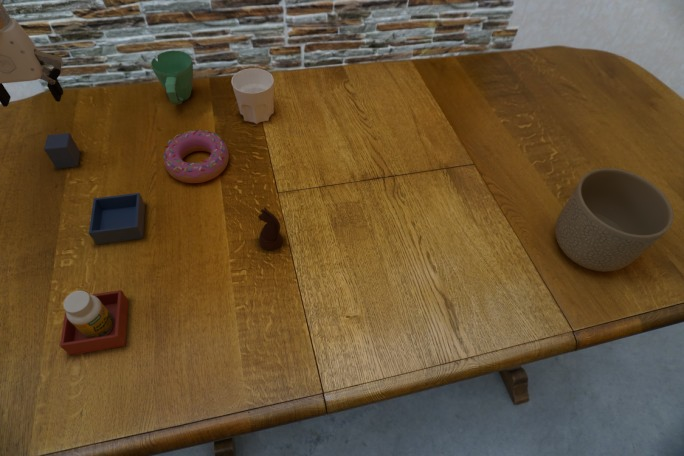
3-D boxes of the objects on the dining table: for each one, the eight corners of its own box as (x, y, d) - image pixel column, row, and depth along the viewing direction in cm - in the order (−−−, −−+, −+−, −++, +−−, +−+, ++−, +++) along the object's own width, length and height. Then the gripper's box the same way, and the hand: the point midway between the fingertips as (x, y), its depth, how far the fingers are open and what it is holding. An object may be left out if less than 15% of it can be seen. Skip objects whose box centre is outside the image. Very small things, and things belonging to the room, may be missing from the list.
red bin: (70, 355, 79) (59, 346, 75) (76, 308, 84) (67, 298, 81) (125, 345, 80) (117, 336, 77) (128, 300, 85) (121, 289, 82)
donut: (238, 175, 105) (235, 159, 101) (176, 195, 101) (170, 179, 97) (218, 136, 113) (215, 120, 109) (160, 153, 108) (154, 137, 104)
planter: (551, 275, 93) (587, 230, 80) (541, 211, 103) (571, 162, 90) (637, 287, 92) (686, 243, 80) (618, 221, 102) (659, 173, 90)
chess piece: (268, 229, 96) (264, 198, 88) (288, 240, 95) (285, 209, 87) (254, 244, 94) (249, 213, 86) (274, 255, 93) (271, 225, 85)
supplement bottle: (94, 309, 83) (72, 282, 76) (121, 317, 83) (101, 290, 75) (76, 336, 80) (51, 310, 73) (103, 344, 80) (81, 319, 72)
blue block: (56, 168, 104) (43, 149, 99) (59, 154, 107) (47, 135, 102) (78, 166, 105) (66, 146, 100) (80, 152, 107) (69, 132, 103)
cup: (247, 97, 122) (242, 64, 114) (282, 106, 121) (280, 73, 113) (230, 120, 116) (224, 87, 108) (267, 130, 115) (263, 97, 107)
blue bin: (96, 244, 92) (88, 233, 89) (100, 210, 97) (93, 198, 94) (143, 238, 94) (137, 226, 90) (145, 204, 99) (139, 192, 96)
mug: (163, 84, 124) (152, 51, 116) (200, 82, 125) (192, 49, 117) (159, 120, 115) (147, 87, 107) (199, 118, 116) (190, 84, 108)
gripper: (-81, 33, 75) (-19, 116, 89) (33, 25, 77) (77, 107, 91) (-67, 10, 79) (-9, 92, 93) (41, 2, 82) (81, 84, 96)
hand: (33, 99), depth 92 cm, fingers open, 9 cm apart
